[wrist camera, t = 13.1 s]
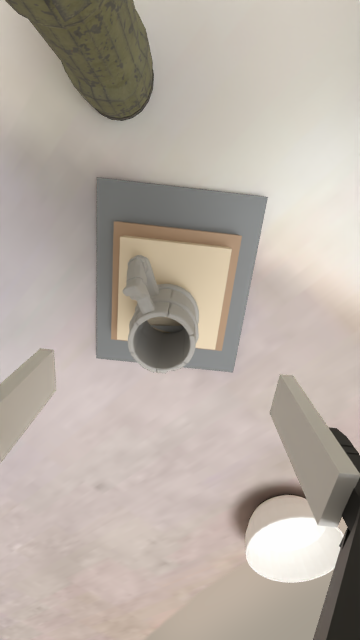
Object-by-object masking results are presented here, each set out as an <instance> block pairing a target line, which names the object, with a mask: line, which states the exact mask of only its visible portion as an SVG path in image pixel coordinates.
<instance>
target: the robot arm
mask: <svg viewBox="0 0 360 640" xmlns="http://www.w3.org/2000/svg"><path fill="white" fill-rule="evenodd" d="M55 391H56V379H55V361H54V350H50V349H41V348H40V349H39V350H38V351H37V352H36V353H35V354H34V355H33V356H31V357H30V358H29V359H28V360H27V361H26V362H25V363H23V364H22V365H21V366H20V367H19V368H18V369H17V370H16V371H14V372H13V373H12V374H11V375H10V376H9V377H8V378H6V379H5V380H4V381H3V382H2V383H1V384H0V463H1V462H2V461H3V459H4V458H5V457H6V455H7V454H8V453H9V452H10V450H11V449H12V448H13V446H14V445H15V444H16V442H17V441H18V440H19V438H20V437H21V436H22V435H23V433H24V432H25V431H26V429H27V428H28V427H29V425H30V424H31V423H32V421H33V420H34V419H35V418H36V416H37V415H38V414H39V412H40V411H41V410H42V408H43V407H44V406H45V404H46V403H47V402H48V401H49V399H50V398H51V397H52V395H53V394H54V393H55ZM270 415H271V417H272V420H273V422H274V424H275V427H276V429H277V431H278V434H279V436H280V438H281V441H282V443H283V445H284V448H285V450H286V452H287V455H288V457H289V459H290V462H291V464H292V466H293V469H294V471H295V473H296V476H297V478H298V480H299V483H300V485H301V487H302V490H303V492H304V494H305V497H306V499H307V501H308V504H309V506H310V508H311V511H312V513H313V516H314V518H315V520H316V523H317V525H318V526H328V527H338V525H339V522H340V520H341V518H342V517H343V519H344V521H345V523H346V525H347V526H348V528H347V530H346V532H345V535H344V536H343V539H342V541H341V543H340V545H339V547H341V548H340V552H339V555H338V558H337V562H336V565H335V568H334V572H333V575H332V578H331V582H330V585H329V588H328V592H327V595H326V598H325V602H324V605H323V609H322V612H321V615H320V619H319V622H318V625H317V628H316V632H315V635H314V638H313V640H360V455H359V453H358V452H357V450H356V449H355V448H354V447H353V445H352V443H351V442H350V441H349V439H348V438H347V437H346V436H345V435H344V434H343V433H342V432H340V431H339V430H338V429H337V428H328V426H327V425H326V423H325V422H324V420H323V419H322V417H321V416H320V414H319V413H318V411H317V410H316V409H315V407H314V406H313V404H312V403H311V401H310V400H309V398H308V397H307V395H306V394H305V392H304V391H303V389H302V388H301V386H300V385H299V384H298V382H297V381H296V379H295V378H294V376H292V375H283V374H280V376H279V380H278V384H277V388H276V391H275V395H274V399H273V402H272V406H271V410H270Z"/></svg>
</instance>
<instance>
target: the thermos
mask: <svg viewBox="0 0 360 640" xmlns="http://www.w3.org/2000/svg"><path fill="white" fill-rule="evenodd" d="M5 1H6V2H7V3H8V4H9V5H10V6H11V7H12V8H13V9H14V10H15V11H16V12H17V13H18V14H20V15H22V16H24V17H26V18H28V19H29V20H30V22H31V23H32V24H33V25H34V27H35V28H36V29H37V31H38V32H39V33H40V34H41V36H42V37H43V38H44V40H45V41H46V42H47V43H48V45H49V46H50V47H51V48H52V50H53V51H54V52H55V54H56V55H57V56H58V57H59V59H60V60H61V61H62V64H63V66H64V69H65V71H66V73H67V75H68V77H69V78H70V80H71V82H72V83H73V85H74V87H75V88H76V89H77V90H78V91H79V93H80V94H81V95H82V96H83V97H84V98H85V99H86V100H87V101H88V102H89V103H90V104H91V105H92V106H93V107H94V108H95V109H96V110H97V111H98V112H99V113H100V114H101V115H103V116H105V117H107V118H109V119H112V120H121V121H123V120H126V119H130V118H133V117H134V116H136V115H137V114H139V113H140V112H141V111H142V110H143V109H144V107H145V106H146V104H147V103H148V102H149V99H150V96H151V93H152V90H153V78H154V74H153V69H152V58H151V53H150V48H149V43H148V38H147V33H146V29H145V27H144V25H143V23H142V21H141V19H140V17H139V15H138V13H137V11H136V10H135V7H134V3H133V0H5Z"/></svg>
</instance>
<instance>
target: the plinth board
mask: <svg viewBox="0 0 360 640" xmlns="http://www.w3.org/2000/svg"><path fill="white" fill-rule="evenodd" d="M267 198H268V197H264V196H255V195H247V194H238V193H229V192H221V191H212V190H203V189H195V188H186V187H177V186H169V185H160V184H151V183H143V182H134V181H125V180H117V179H108V178H99V177H97V345H96V358H99V359H109V360H118V361H128V362H137V361H136V360H135V359H134V358H133V357H132V356H131V353H130V351H129V348H128V335H129V331H130V330H129V324H130V321H131V319H132V317H133V315H134V313H135V307H136V306H137V301H136V300H132V299H131V298H130V296H126V295H124V293H123V289H124V288H125V287H126V284H127V283H126V280H127V270H128V262H129V261H130V259H132V258H133V257H135V256H137V255H142V256H144V257H147V258H148V259H149V261H150V264H151V267H152V270H153V273H154V277H155V280H156V283H157V285H158V284H174V285H178V286H180V287H182V288H184V289H186V290H187V291H188V292H190V293H191V295H192V296H193V297H194V299H195V301H196V303H197V306H198V310H199V323H198V332H199V338H198V341H197V343H196V347H195V351H194V354H193V356H192V358H191V360H190V361H189V362H188V363H186V365H185V366H183V367H186V368H195V369H205V370H215V371H224V372H233V370H234V365H235V360H236V355H237V350H238V345H239V340H240V335H241V330H242V325H243V320H244V315H245V310H246V305H247V299H248V294H249V289H250V284H251V279H252V274H253V269H254V264H255V259H256V254H257V249H258V244H259V239H260V234H261V229H262V223H263V218H264V213H265V208H266V203H267ZM147 321H148V323H149V324H150V325H153V326H182V325H181V324H180V323H179V322H177V321H175V320H173V319H171V318H168V317H155V318H151V319H148V320H147ZM153 328H154V327H153ZM154 329H156V330H157V331H160V332H163V333H170V332H167V331H164V330H160V329H157V328H154ZM137 363H138V362H137Z"/></svg>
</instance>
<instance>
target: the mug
mask: <svg viewBox="0 0 360 640" xmlns="http://www.w3.org/2000/svg"><path fill="white" fill-rule="evenodd" d="M126 283H127V284H126V287H125V288H124V289H123V293H124V295H126V296H130V298H131V299H132V300H136V301H137V306H136V307H135V313H134V315H133V317H132V319H131V321H130V324H129V330H130V331H129V335H128V348H129V351H130V353H131V356H132V357H133V358H134V359H135V360H136V361H137V362H138V363H139V364H140V365H141V366H142V367H143V368H145V369H147V370H148V371H151V372H154V373H155V372H156V373H167V372H168V371H175V370H178V369H181V368H182V367H183V366H185V365H186V363H188V362H189V361H190V360H191V358H192V356H193V354H194V351H195V347H196V343H197V341H198V338H199V332H198V323H199V310H198V306H197V303H196V301H195V299H194V297H193V296H192V295H191V293H190V292H188V291H187V290H186V289H184V288H182V287H180V286H178V285H174V284H158V285H157V283H156V280H155V277H154V273H153V270H152V267H151V264H150V261H149V259H148V258H147V257H144V256H142V255H137V256H135V257H133V258H132V259H130V261H129V262H128V270H127V280H126ZM155 317H168V318H171V319H173V320H175V321H177V322H179V323H180V324H181V325H182V326H153V325H150V324H149V323H148V321H147V320H148V319H151V318H155ZM153 327H154V328H157V329H160V330H164V331H167V332H170V333H163V332H160V331H157V330H156V329H154V328H153Z"/></svg>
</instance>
